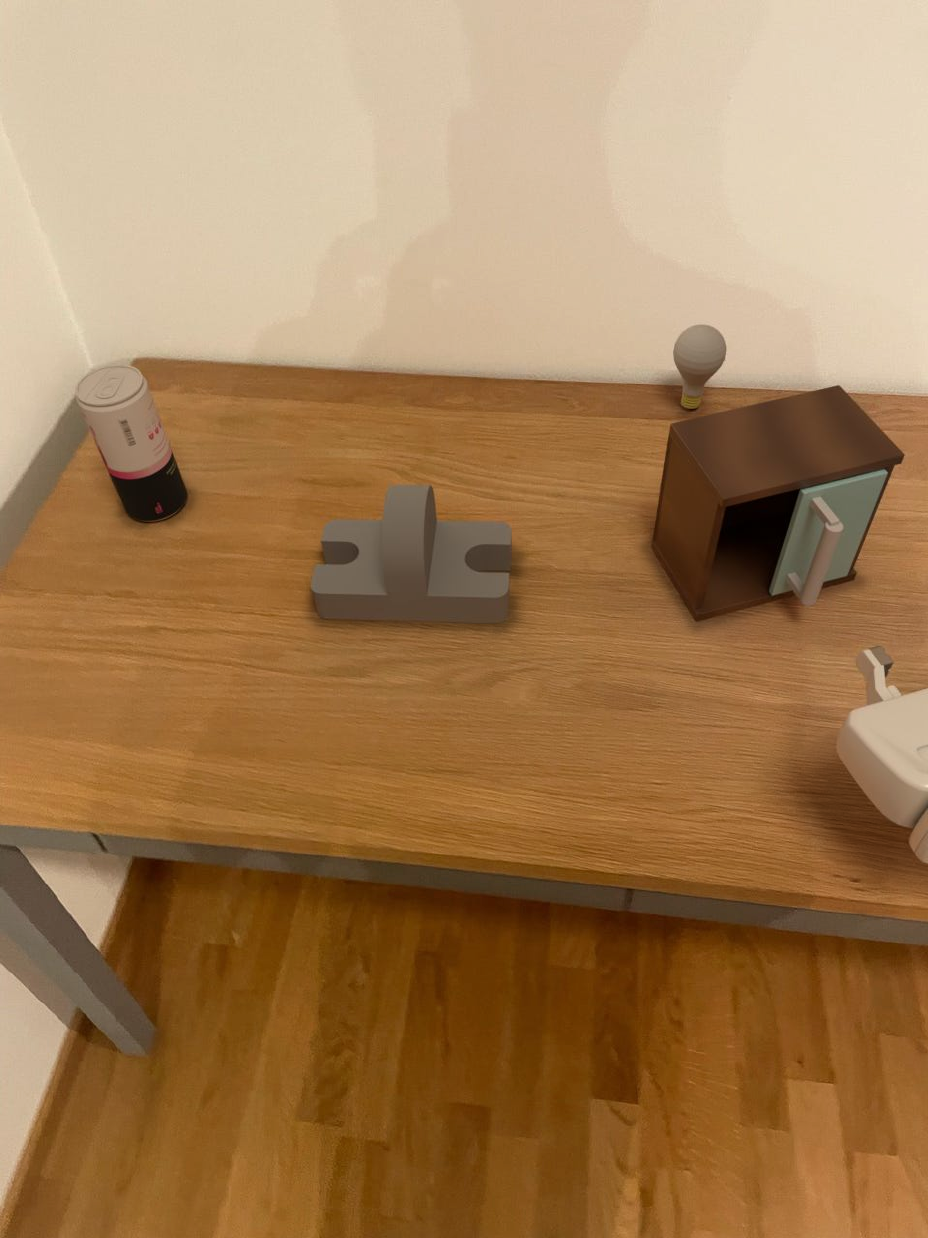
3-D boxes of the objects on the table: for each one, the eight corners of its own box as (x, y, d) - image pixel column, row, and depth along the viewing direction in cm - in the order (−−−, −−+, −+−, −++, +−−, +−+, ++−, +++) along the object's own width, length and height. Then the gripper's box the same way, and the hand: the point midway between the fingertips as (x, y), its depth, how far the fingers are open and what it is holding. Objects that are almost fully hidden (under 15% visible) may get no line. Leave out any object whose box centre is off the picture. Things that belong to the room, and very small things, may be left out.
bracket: (508, 623, 85) (507, 540, 76) (315, 618, 86) (293, 536, 78) (512, 548, 91) (511, 463, 82) (331, 545, 92) (313, 461, 84)
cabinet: (799, 509, 92) (839, 384, 81) (854, 580, 86) (905, 454, 75) (651, 547, 90) (670, 423, 79) (695, 621, 84) (723, 498, 72)
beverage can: (116, 523, 96) (62, 404, 84) (137, 480, 100) (88, 362, 88) (177, 525, 95) (130, 406, 84) (196, 483, 99) (154, 363, 88)
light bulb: (718, 421, 102) (734, 342, 94) (668, 423, 102) (680, 344, 94) (710, 391, 105) (725, 313, 98) (662, 393, 106) (673, 314, 98)
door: (843, 571, 85) (884, 468, 76) (869, 605, 82) (914, 502, 73) (768, 591, 84) (800, 488, 75) (792, 625, 81) (828, 524, 72)
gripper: (1229, 729, 56) (1072, 571, 65) (931, 823, 53) (808, 644, 62) (1173, 782, 61) (1034, 628, 70) (897, 870, 58) (788, 698, 67)
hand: (925, 636), depth 66 cm, fingers open, 8 cm apart
